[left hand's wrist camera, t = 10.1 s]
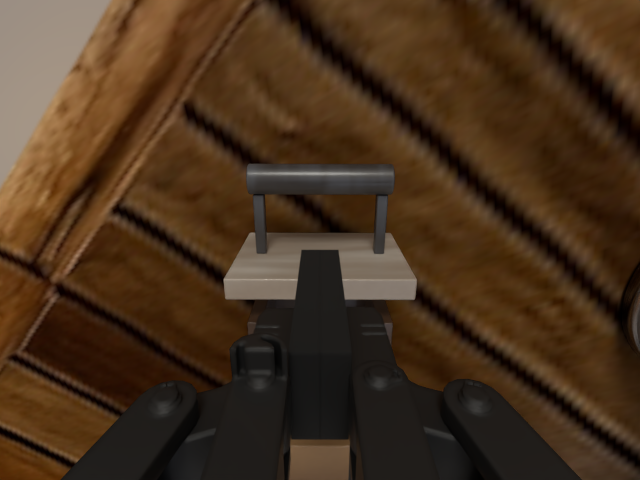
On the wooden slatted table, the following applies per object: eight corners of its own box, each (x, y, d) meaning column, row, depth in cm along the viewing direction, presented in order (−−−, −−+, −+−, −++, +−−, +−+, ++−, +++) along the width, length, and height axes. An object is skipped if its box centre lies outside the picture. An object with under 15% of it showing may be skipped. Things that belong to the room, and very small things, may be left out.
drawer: (244, 155, 24) (212, 175, 17) (396, 156, 24) (428, 176, 17) (263, 433, 32) (246, 524, 25) (376, 433, 32) (392, 525, 25)
